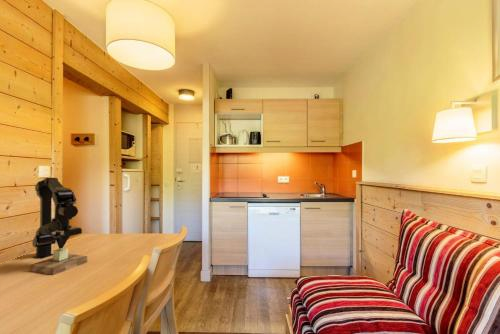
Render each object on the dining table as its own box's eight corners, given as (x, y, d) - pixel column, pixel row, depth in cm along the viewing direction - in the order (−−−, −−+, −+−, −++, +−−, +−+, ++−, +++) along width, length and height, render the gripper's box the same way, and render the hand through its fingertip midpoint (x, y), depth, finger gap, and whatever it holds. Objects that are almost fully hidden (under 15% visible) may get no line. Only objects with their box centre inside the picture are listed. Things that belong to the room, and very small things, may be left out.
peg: (52, 267, 112) (53, 250, 112) (61, 264, 116) (62, 247, 116) (58, 268, 111) (59, 251, 111) (67, 265, 115) (68, 248, 115)
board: (30, 271, 108) (30, 264, 108) (66, 259, 123) (66, 253, 123) (53, 275, 104) (53, 268, 104) (87, 262, 119) (87, 256, 119)
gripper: (29, 217, 109) (27, 251, 109) (59, 219, 104) (57, 255, 104) (54, 213, 120) (53, 244, 119) (83, 215, 115) (82, 248, 114)
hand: (60, 248), depth 114 cm, fingers closed
